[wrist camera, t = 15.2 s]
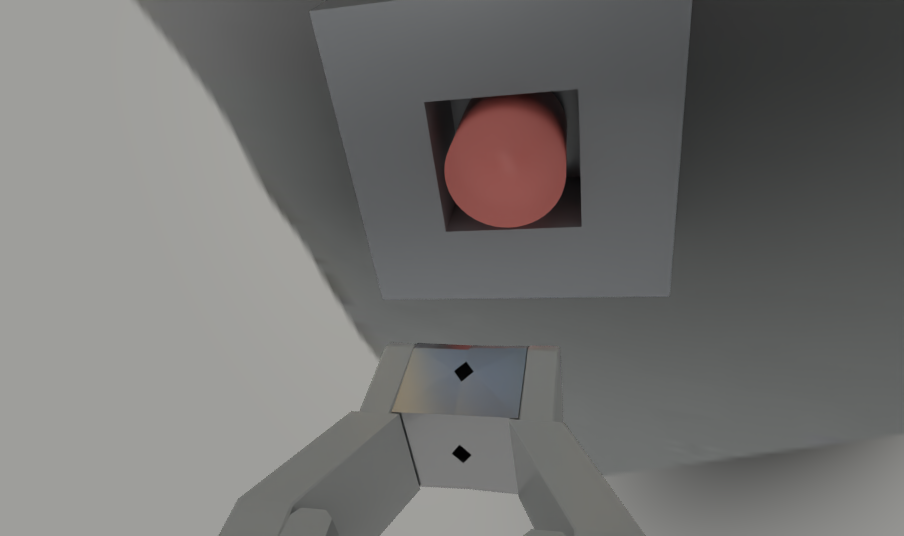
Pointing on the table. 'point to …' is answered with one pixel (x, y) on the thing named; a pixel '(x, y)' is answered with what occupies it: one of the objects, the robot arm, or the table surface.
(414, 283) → the button console
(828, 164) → the table surface
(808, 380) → the table surface
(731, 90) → the table surface
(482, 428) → the robot arm
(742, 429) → the table surface
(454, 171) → the button
